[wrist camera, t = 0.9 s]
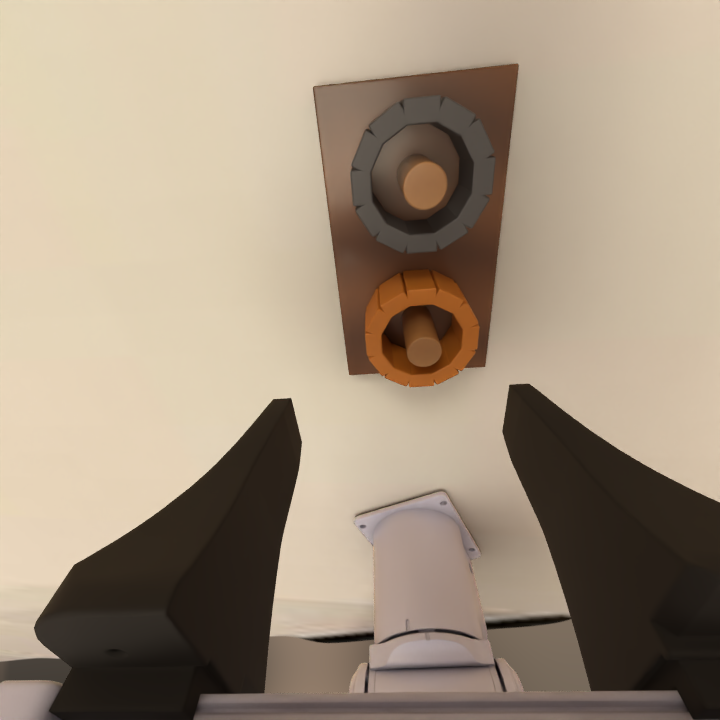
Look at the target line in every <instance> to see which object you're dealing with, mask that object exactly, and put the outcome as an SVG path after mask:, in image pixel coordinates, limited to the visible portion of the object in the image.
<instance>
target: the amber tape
mask: <svg viewBox="0 0 720 720" xmlns="http://www.w3.org/2000/svg"><path fill="white" fill-rule="evenodd" d="M419 305H435V306H437V307H439V308H442V309H444V310H446V311H448V312H450V313H452V325H451V326H450V328H449V329H448V331H447V332H446V334H445V335H444V337H443V338H442V339H441V340H440V341H439V342H440V345H441V348H442V353H441V356H440V358H439V360H438V361H437V362H436V363H434V364H433V365H430V366H427V367H419V366H416V365H414V364H412V363H411V362H410V361H409V359H408V357H407V352H406V349H405V348H403V347H400V346H398V345H395V344H393V343H391V342H390V340H389V339H388V338H387V336H386V335H385V334H384V330H385V328H386V326H387V325H388V323H389V321H390V319H391V318H392V317H393V316H395V315H396V314H398V313H400V312H401V311H403V310H405V309H406V308H408V307H410V306H419ZM478 337H479V325H478V320H477V318H476V317H475V315H474V313H473V311H472V309H471V307H470V306H469V304H468V302H467V300H466V298H465V297H464V295H463V293H462V292H461V290H460V288H459V286H458V285H457V283H455V282H454V280H453V279H450V278H448V277H446V276H444V275H442V274H440V273H438V272H436V271H434V270H431V271H430V272H429V269H423V270H410V271H403V276H402V274H401V273H398V274H396V275H395V276H393V277H392V278H390V279H389V280H387V281H386V282H384V283H382V284H381V285H380V286H379V289H376V290H375V292H374V294H373V296H372V298H371V300H370V302H369V304H368V305H367V307H366V312H365V341H366V352H367V356H369V361H370V362H371V363H372V364H373V365H374V367H375V368H376V369H377V370H378V372H379V373H380V374H381V375H382V376H384V375H385V378H386V379H389V380H391V381H394V382H396V383H399V384H401V385H404V386H407V385H408V383H409V387H421V386H434V381H435V383H436V384H440V383H442V382H443V381H445V380H447V379H449V378H451V377H453V376H455V375H457V374H458V373H459V372H458V370H460V371H462V370H463V369H464V368H465V366H466V365H467V364H468V362H469V361H470V360H471V358H472V357H473V356H474V354H475V350H476V349H477V348H478Z"/></svg>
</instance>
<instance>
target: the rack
mask: <svg viewBox="0 0 720 720" xmlns="http://www.w3.org/2000/svg"><path fill="white" fill-rule="evenodd" d="M517 75H518V64H510V65H501V66H492V67H483V68H474V69H466V70H457V71H448V72H439V73H430V74H421V75H412V76H403V77H394V78H385V79H376V80H367V81H358V82H349V83H340V84H331V85H322V86H314V87H313V92H314V100H315V108H316V116H317V124H318V132H319V140H320V148H321V156H322V164H323V172H324V180H325V187H326V195H327V203H328V211H329V219H330V227H331V235H332V243H333V251H334V259H335V267H336V275H337V282H338V290H339V298H340V306H341V314H342V322H343V330H344V338H345V346H346V354H347V362H348V370H349V375H358V374H375V373H379V372H378V370H377V369H376V368H375V367H374V365H373V364H372V363H371V362H370V361H369V356H367V352H366V341H365V312H366V307H367V305H368V304H369V302H370V300H371V298H372V296H373V294H374V292H375V290H376V289H379V286H380V285H381V284H382V283H384V282H386V281H387V280H389V279H390V278H392V277H393V276H395V275H396V274H398V273H401V274H402V276H403V271H410V270H423V269H429V272H430V271H431V270H434V271H436V272H438V273H440V274H442V275H444V276H446V277H448V278H450V279H453V280H454V282H455V283H457V285H458V286H459V288H460V290H461V292H462V293H463V295H464V297H465V298H466V300H467V302H468V304H469V306H470V307H471V309H472V311H473V313H474V315H475V317H476V318H477V320H478V325H479V337H478V348H477V349H476V350H475V354H474V356H473V357H472V358H471V360H470V361H469V362H468V364H467V365H466V366H465V368H474V367H485V363H486V354H487V345H488V336H489V327H490V318H491V309H492V300H493V291H494V282H495V273H496V264H497V255H498V246H499V237H500V228H501V219H502V210H503V201H504V192H505V183H506V174H507V165H508V156H509V147H510V138H511V129H512V120H513V111H514V102H515V93H516V84H517ZM431 95H441V98H442V97H445V96H446V97H449V98H450V99H452V100H454V101H455V102H457V103H459V104H460V105H462V106H464V107H465V108H467V109H468V110H470V111H472V112H473V113H475V114H476V117H475V119H478V118H479V119H481V122H482V124H483V126H484V128H485V131H486V133H487V135H488V137H489V140H490V142H491V144H492V146H493V149H494V153H493V154H492V155H491V156H494V157H495V158H496V160H495V170H494V181H493V191H492V194H491V195H486V196H487V197H489V198H490V199H489V202H488V203H487V205H486V207H485V208H484V210H483V212H482V213H481V215H480V216H479V218H478V220H477V221H476V223H475V225H474V226H473V228H472V229H470V228H468V227H466V228H467V230H468V233H467V234H465V235H464V236H462V237H461V238H459V239H458V240H456V241H455V242H453V243H451V244H450V245H448V246H447V247H445V248H444V249H442V250H441V249H439V247H438V245H437V251H435V252H425V253H412V254H407V253H406V250H405V251H404V253H401V252H398V251H396V250H394V249H392V248H390V247H388V246H386V245H384V244H382V243H380V242H378V241H376V236H374V237H372V236H371V235H370V233H369V232H368V230H367V229H366V227H365V226H364V224H363V223H362V221H361V220H360V218H359V217H358V215H357V214H356V211H355V210H356V207H355V206H353V200H352V189H351V178H350V171H351V169H352V166H351V164H352V161H353V159H354V156H355V154H356V151H357V149H358V146H359V144H360V141H361V139H362V136H363V134H364V131H365V130H366V129H368V130H370V129H369V124H370V123H371V122H372V121H374V120H375V119H376V118H377V117H379V116H380V115H381V114H382V113H383V112H385V111H386V110H387V109H388V108H390V107H391V106H392V105H393V104H395V103H396V102H400V101H401V100H403V99H405V98H413V97H422V96H431ZM370 131H371V130H370ZM459 161H460V157H459V155H458V153H457V151H456V149H455V147H454V145H453V143H452V141H451V139H450V137H449V135H448V134H447V133H445V132H443V131H441V130H440V129H438V128H436V127H434V126H433V125H431V124H429V123H427V124H417V125H408V126H406V127H405V128H404V129H402V130H401V131H400V132H399V133H397V134H396V135H395V136H393V137H392V138H391V139H390V140H388V141H387V142H386V143H385V144H383V147H382V149H381V151H380V153H379V156H378V158H377V160H376V163H375V165H374V167H373V170H372V172H371V175H372V190H373V193H374V195H375V196H376V198H377V199H378V201H379V203H380V204H381V206H382V207H383V209H384V211H386V212H388V213H390V214H392V215H394V216H396V217H398V218H400V219H402V220H404V221H411V220H423V219H427V218H429V217H430V216H432V215H433V214H435V213H436V212H438V211H439V210H441V209H442V208H444V207H445V206H446V205H447V203H448V202H449V200H450V198H451V196H452V194H453V193H454V191H455V189H456V187H457V185H458V181H459ZM451 325H452V313H450V312H448V311H446V310H444V309H442V308H439V307H437V306H435V305H419V306H410V307H408V308H406V309H405V310H403V311H401V312H400V313H398V314H396V315H395V316H393V317H392V318H391V319H390V321H389V323H388V325H387V326H386V328H385V330H384V334H385V335H386V336H387V338H388V339H389V340H390V342H391V343H393V344H395V345H398V346H400V347H403V348H405V349H406V352H407V357H408V359H409V361H410V362H411V363H412V364H414V365H416V366H419V367H427V366H430V365H433V364H434V363H436V362H437V361H438V360H439V358H440V356H441V353H442V348H441V345H440V342H439V341H440V340H441V339H442V338H443V337H444V335H445V334H446V332H447V331H448V329H449V328H450V326H451Z"/></svg>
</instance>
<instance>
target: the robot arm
mask: <svg viewBox="0 0 720 720" xmlns="http://www.w3.org/2000/svg"><path fill="white" fill-rule="evenodd" d="M502 432H503V435H504V439H505V442H506V446H507V449H508V452H509V455H510V458H511V461H512V463H513V466H514V468H515V470H516V472H517V474H518V477H519V479H520V481H521V483H522V486H523V488H524V490H525V492H526V494H527V496H528V499H529V501H530V503H531V505H532V507H533V510H534V512H535V514H536V516H537V518H538V521H539V523H540V525H541V528H542V530H543V533H544V535H545V538H546V541H547V544H548V547H549V550H550V553H551V556H552V558H553V561H554V564H555V567H556V570H557V574H558V577H559V580H560V583H561V586H562V589H563V593H564V596H565V599H566V602H567V605H568V609H569V612H570V616H571V619H572V623H573V626H574V629H575V633H576V636H577V640H578V643H579V647H580V651H581V654H582V658H583V662H584V665H585V669H586V673H587V677H588V681H589V684H590V688H591V691H544V692H543V691H540V692H539V691H538V692H537V691H536V692H524V690H523V687H522V684H521V682H520V679H519V677H518V675H517V673H516V672H515V670H514V669H513V668H512V667H510V666H509V665H508V664H507V662H506V661H505V659H503V658H495V659H494V658H493V655H492V650H491V645H490V641H489V640H487V628H486V623H485V619H484V615H483V611H482V606H481V602H480V598H479V593H478V589H477V585H476V580H475V576H474V572H473V567H472V563H471V560H472V559H476V558H479V557H480V556H481V553H480V550H479V548H478V546H477V545H476V543H475V541H474V539H473V538H472V536H471V534H470V533H469V531H468V529H467V528H466V526H465V524H464V523H463V521H462V519H461V517H460V516H459V514H458V512H457V511H456V509H455V507H454V506H453V504H452V502H451V500H450V499H449V497H448V495H447V494H446V493H445V492H442V491H440V492H436V493H433V494H429V495H426V496H422V497H419V498H416V499H412V500H409V501H406V502H402V503H399V504H396V505H392V506H389V507H385V508H382V509H379V510H375V511H372V512H369V513H365V514H362V515H359V516H356V517H355V518H354V524H355V525H356V527H357V528H358V529H359V530H360V531H361V532H362V534H363V535H364V536H365V537H366V538H367V540H368V541H369V542H370V543H371V544H372V545H373V559H374V645H370V646H369V661H370V662H369V663H362V664H360V665H359V667H358V670H357V671H356V672H355V674H354V675H353V677H352V679H351V683H350V688H349V693H271V694H267V693H264V690H265V678H266V667H267V656H268V645H269V636H270V626H271V617H272V608H273V600H274V592H275V584H276V576H277V569H278V562H279V555H280V548H281V542H282V537H283V533H284V528H285V524H286V520H287V516H288V512H289V508H290V504H291V500H292V496H293V492H294V488H295V484H296V479H297V475H298V471H299V464H300V456H301V446H302V441H301V437H300V433H299V429H298V424H297V420H296V416H295V412H294V408H293V404H292V400H291V398H287V399H273V400H272V402H271V403H270V404H269V405H268V406H267V407H266V409H265V410H264V411H263V412H262V413H261V415H260V416H259V417H258V418H257V419H256V421H255V422H254V423H253V424H252V425H251V427H250V428H249V429H248V430H247V431H246V432H245V433H244V435H243V436H242V437H241V438H240V439H239V440H238V441H237V443H236V444H235V445H234V446H233V447H232V448H231V449H230V450H229V451H228V452H227V453H226V454H225V455H224V456H223V457H222V458H221V459H220V460H219V462H218V463H217V464H216V465H215V466H213V467H212V468H211V469H210V470H209V471H208V472H207V473H206V474H205V475H204V476H203V477H201V478H200V479H199V480H198V481H197V482H196V483H195V484H194V485H192V486H191V487H190V488H189V489H188V490H186V491H185V492H184V493H183V494H181V495H180V496H179V497H177V498H176V499H175V500H173V501H172V502H171V503H170V504H168V505H167V506H166V507H164V508H163V509H162V510H161V511H159V512H158V513H156V514H155V515H154V516H152V517H151V518H149V519H148V520H146V521H145V522H144V523H142V524H141V525H139V526H138V527H136V528H135V529H133V530H132V531H130V532H129V533H127V534H125V535H124V536H122V537H121V538H119V539H118V540H116V541H114V542H113V543H111V544H109V545H108V546H106V547H104V548H102V549H101V550H99V551H97V552H96V553H94V554H92V555H91V556H89V557H87V558H86V559H84V560H82V561H80V562H78V563H77V564H75V565H74V566H73V567H72V569H71V570H70V572H69V573H68V575H67V576H66V578H65V579H64V581H63V582H62V584H61V585H60V587H59V588H58V590H57V591H56V593H55V594H54V596H53V597H52V599H51V600H50V602H49V603H48V605H47V606H46V608H45V609H44V611H43V612H42V614H41V615H40V617H39V618H38V620H37V621H36V624H35V627H34V630H35V633H36V636H37V639H38V640H39V641H40V642H41V643H42V644H43V645H44V646H45V647H46V648H48V649H49V650H50V651H52V652H53V653H54V654H55V655H57V656H58V657H59V658H60V659H62V660H63V661H64V662H66V663H67V664H68V665H69V666H71V667H72V669H71V671H70V673H69V675H68V676H67V678H66V680H65V682H64V684H61V683H58V682H54V681H47V680H24V681H4V682H2V683H0V720H720V503H719V502H717V501H715V500H713V499H711V498H708V497H706V496H704V495H702V494H700V493H698V492H696V491H693V490H691V489H689V488H687V487H685V486H683V485H682V484H680V483H678V482H676V481H674V480H672V479H670V478H668V477H666V476H664V475H662V474H660V473H658V472H656V471H654V470H653V469H651V468H649V467H647V466H646V465H644V464H642V463H640V462H639V461H637V460H635V459H634V458H632V457H630V456H628V455H627V454H625V453H623V452H622V451H620V450H619V449H617V448H616V447H614V446H612V445H611V444H609V443H608V442H606V441H605V440H603V439H602V438H601V437H599V436H598V435H596V434H595V433H593V432H592V431H590V430H589V429H588V428H586V427H585V426H583V425H582V424H581V423H579V422H578V421H577V420H575V419H574V418H573V417H571V416H570V415H569V414H567V413H566V412H565V411H563V410H562V409H561V408H559V407H558V406H557V405H556V404H554V403H553V402H552V401H551V400H549V399H548V398H547V397H546V396H544V395H543V394H542V393H541V392H539V391H538V390H537V389H535V388H534V387H533V386H531V385H530V384H516V385H509V392H508V399H507V405H506V412H505V418H504V425H503V431H502Z"/></svg>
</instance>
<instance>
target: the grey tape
mask: <svg viewBox="0 0 720 720" xmlns="http://www.w3.org/2000/svg"><path fill="white" fill-rule="evenodd" d="M475 117H476V114H475V113H473V112H472V111H470V110H468V109H467V108H465V107H464V106H462V105H460V104H459V103H457V102H455V101H454V100H452V99H450V98H449V97H446V96H445V97H442V98H441V95H431V96H422V97H413V98H405V99H403V100H401V101H400V102H396V103H395V104H393V105H392V106H391V107H390V108H388V109H387V110H386V111H385V112H383V113H382V114H381V115H380V116H379V117H377V118H376V119H375V120H374V121H372V122H371V123H370V124H369V129H370V130H371V131H370V130H368V129H366V130H365V131H364V134H363V136H362V139H361V141H360V144H359V146H358V149H357V151H356V154H355V156H354V159H353V161H352V164H351V166H352V169H351V171H350V178H351V189H352V200H353V206H355V207H356V210H355V211H356V214H357V215H358V217H359V218H360V220H361V221H362V223H363V224H364V226H365V227H366V229H367V230H368V232H369V233H370V235H371V236H372V237H374V236H376V241H378V242H380V243H382V244H384V245H386V246H388V247H390V248H392V249H394V250H396V251H398V252H401V253H404V251H405V250H406V253H407V254H412V253H425V252H435V251H437V245H438V247H439V249H441V250H442V249H444V248H445V247H447V246H448V245H450V244H451V243H453V242H455V241H456V240H458V239H459V238H461V237H462V236H464V235H465V234H467V233H468V230H467V228H466V227H468V228H470V229H472V228H473V226H474V225H475V223H476V221H477V220H478V218H479V216H480V215H481V213H482V212H483V210H484V208H485V207H486V205H487V203H488V202H489V199H490V198H489V197H487V196H486V195H491V194H492V191H493V181H494V170H495V160H496V158H495V157H494V156H491V155H492V154H493V153H494V149H493V146H492V144H491V142H490V140H489V137H488V135H487V133H486V131H485V128H484V126H483V124H482V122H481V119H479V118H478V119H475ZM427 123H429V124H431V125H433V126H434V127H436V128H438V129H440V130H441V131H443V132H445V133H447V134H448V135H449V137H450V139H451V141H452V143H453V145H454V147H455V149H456V151H457V153H458V155H459V157H460V161H459V181H458V185H457V187H456V189H455V191H454V193H453V194H452V196H451V198H450V200H449V202H448V203H447V205H446V206H445V207H444V208H442V209H441V210H439V211H438V212H436V213H435V214H433V215H432V216H430V217H429V218H427V219H423V220H411V221H404V220H402V219H400V218H398V217H396V216H394V215H392V214H390V213H388V212H386V211H384V209H383V207H382V206H381V204H380V203H379V201H378V199H377V198H376V196H375V195H374V193H373V190H372V175H371V172H372V170H373V167H374V165H375V163H376V160H377V158H378V156H379V153H380V151H381V149H382V147H383V144H385V143H386V142H387V141H388V140H390V139H391V138H392V137H393V136H395V135H396V134H397V133H399V132H400V131H401V130H402V129H404V128H405V127H406V126H408V125H417V124H427Z"/></svg>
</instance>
